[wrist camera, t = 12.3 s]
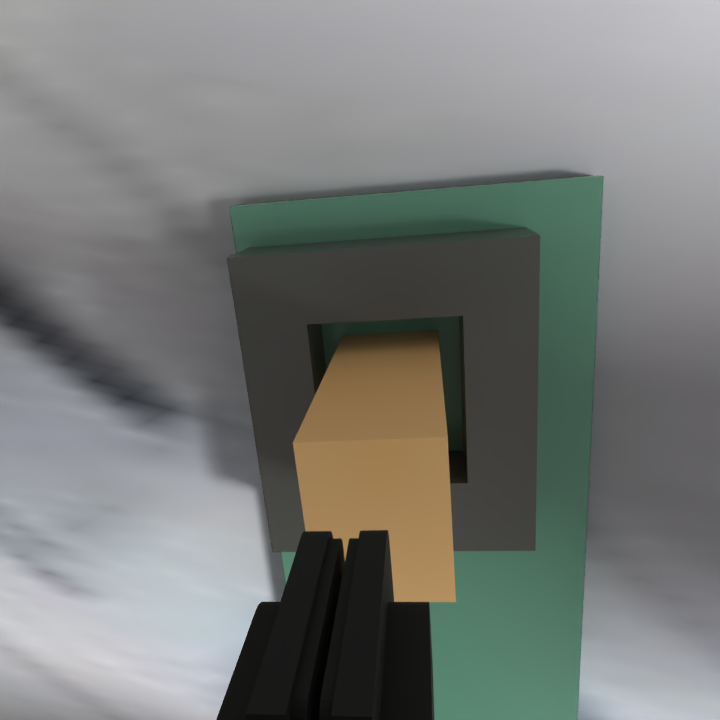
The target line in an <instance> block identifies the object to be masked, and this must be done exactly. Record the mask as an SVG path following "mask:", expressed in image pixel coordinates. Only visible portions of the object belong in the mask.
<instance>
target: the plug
mask: <svg viewBox="0 0 720 720" xmlns="http://www.w3.org/2000/svg"><path fill="white" fill-rule="evenodd" d="M293 448H294V455H295V462H296V469H297V476H298V483H299V490H300V496H301V503H302V510H303V517H304V524H305V531H331V532H332V535H333V539H337V538H341V539H342V541H343V548H344V557H345V559H346V553H347V548H348V542H349V539H350V538H359V533H360V531H362V530H388V533H389V542H390V554H391V567H392V580H393V592H394V602H456V593H455V573H454V552H453V532H452V512H451V492H450V472H449V452H448V434H447V424H446V413H445V402H444V392H443V381H442V370H441V359H440V349H439V338H438V330H423V331H407V332H390V333H374V334H358V335H343V336H342V338H341V340H340V343H339V345H338V347H337V349H336V351H335V353H334V355H333V358H332V360H331V362H330V364H329V366H328V368H327V371H326V373H325V375H324V377H323V379H322V381H321V383H320V386H319V388H318V390H317V392H316V394H315V396H314V398H313V401H312V403H311V405H310V407H309V409H308V411H307V413H306V416H305V418H304V420H303V422H302V424H301V426H300V429H299V431H298V433H297V435H296V437H295V439H294V441H293Z"/></svg>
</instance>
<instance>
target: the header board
mask: <svg viewBox="0 0 720 720" xmlns="http://www.w3.org/2000/svg"><path fill="white" fill-rule="evenodd" d="M602 196H603V176H582V177H569V178H557V179H545V180H533V181H521V182H509V183H496V184H484V185H472V186H460V187H448V188H436V189H423V190H411V191H399V192H387V193H375V194H363V195H351V196H338V197H326V198H314V199H302V200H290V201H278V202H265V203H253V204H241V205H235V206H231V207H230V214H231V221H232V227H233V234H234V241H235V248H236V254H234V255H232V256H230V257H228V258H227V261H228V267H229V274H230V280H231V287H232V293H233V300H234V306H235V313H236V319H237V325H238V332H239V338H240V345H241V351H242V358H243V364H244V371H245V377H246V383H247V390H248V396H249V403H250V409H251V416H252V422H253V429H254V435H255V442H256V448H257V454H258V461H259V467H260V474H261V480H262V487H263V493H264V500H265V506H266V512H267V519H268V525H269V532H270V538H271V545H272V551H273V552H281V555H282V562H283V568H284V575H285V582H286V583H287V580H288V576H289V573H290V570H291V567H292V564H293V560H294V557H295V554H296V551H297V548H298V544H299V541H300V538H301V535H302V533H303V532H304V531H305V524H304V517H303V510H302V503H301V496H300V490H299V483H298V476H297V469H296V462H295V455H294V448H293V441H294V439H295V437H296V435H297V433H298V431H299V429H300V426H301V424H302V422H303V420H304V418H305V416H306V413H307V411H308V409H309V407H310V405H311V403H312V401H313V398H314V396H315V394H316V392H317V390H318V388H319V386H320V383H321V381H322V379H323V377H324V375H325V373H326V371H327V368H328V366H329V364H330V362H331V360H332V358H333V355H334V353H335V351H336V349H337V347H338V345H339V343H340V340H341V338H342V336H343V335H358V334H374V333H390V332H407V331H423V330H438V338H439V349H440V359H441V370H442V381H443V392H444V402H445V413H446V424H447V434H448V452H449V472H450V492H451V512H452V532H453V552H454V573H455V593H456V602H429V605H430V621H431V640H432V662H433V689H434V720H577V719H578V698H579V677H580V656H581V636H582V615H583V594H584V573H585V552H586V531H587V510H588V489H589V468H590V447H591V426H592V405H593V384H594V364H595V343H596V322H597V301H598V280H599V259H600V238H601V217H602Z"/></svg>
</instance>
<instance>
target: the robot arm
mask: <svg viewBox="0 0 720 720" xmlns="http://www.w3.org/2000/svg"><path fill="white" fill-rule="evenodd" d="M217 720H434V689H433V662H432V640H431V621H430V605H429V602H394V592H393V580H392V567H391V554H390V542H389V533H388V530H362V531H360V533H359V538H350V539H349V542H348V548H347V553H346V559H345V557H344V548H343V541H342V539H341V538H337V539H333V535H332V532H331V531H304V532H303V533H302V535H301V538H300V541H299V544H298V548H297V551H296V554H295V557H294V560H293V564H292V567H291V570H290V573H289V576H288V580H287V583H286V586H285V589H284V593H283V596H282V599H281V602H261V603H260V604H259V605H258V607H257V609H256V611H255V614H254V617H253V620H252V623H251V625H250V628H249V631H248V634H247V636H246V639H245V642H244V645H243V647H242V650H241V653H240V656H239V659H238V661H237V664H236V667H235V670H234V672H233V675H232V678H231V681H230V684H229V686H228V689H227V692H226V695H225V697H224V700H223V703H222V706H221V708H220V711H219V714H218V717H217Z"/></svg>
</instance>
